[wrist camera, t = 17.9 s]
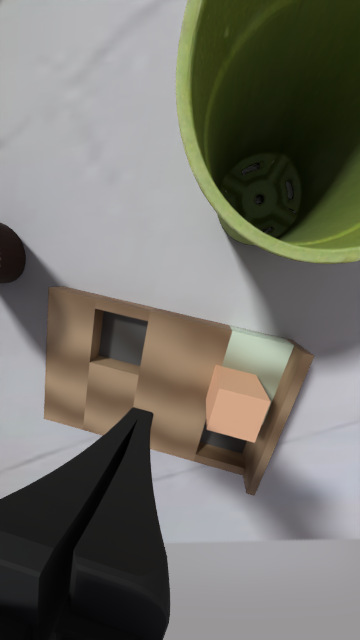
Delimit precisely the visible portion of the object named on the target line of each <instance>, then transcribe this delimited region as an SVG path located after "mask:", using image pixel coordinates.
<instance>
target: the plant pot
mask: <svg viewBox="0 0 360 640" xmlns="http://www.w3.org/2000/svg"><path fill="white" fill-rule="evenodd" d="M176 102H177V114H178V121H179V127H180V133H181V137H182V141H183V145H184V149H185V153H186V156H187V159H188V162H189V164H190V167H191V169H192V172H193V174H194V176H195V178H196V180H197V182H198V184H199V187H200V189H201V191H202V192H203V194H204V195H205V197H206V198H207V200H208V201H209V203H210V204H211V206H212V207H213V208H214V210H215V211H216V212H217V214H218V218H219V221H220V223H221V225H222V227H223V229H224V230H225V231H226V233H227V234H228V235H229V236H230V237H232V238H233V239H235V240H237V241H239V242H241V243H244V244H248V245H256V246H258V247H260V248H262V249H264V250H266V251H268V252H270V253H273V254H275V255H278V256H282V257H285V258H288V259H291V260H296V261H302V262H309V263H321V264H337V263H349V262H355V261H360V0H188V1H187V5H186V9H185V13H184V18H183V23H182V29H181V35H180V40H179V47H178V56H177V67H176ZM272 162H273V163H272ZM255 163H259V164H260V166H259V169H257V170H253V171H251V172H248V173H246V174H245V175H244V176H243V175H242V170H243V169H244V168H246V167H248V166H250V165H252V164H255ZM286 181H290V182H291V183H292V187H293V198H292V199H289V198H288V195H287V188H286ZM223 189H224V190H223ZM225 191H227V192H225ZM257 195H262V196H263V197H264V201H263V203H262V204H257V203H256V202H255V198H256V196H257ZM287 208H290V209H292V210H294V211H295V212H296V213H294V212H292V211H290V210H289V209H287ZM270 227H272V228H273V229H275V230H271V231H269V232H268V233H264V232H262V230H266V229H268V228H270Z"/></svg>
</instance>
